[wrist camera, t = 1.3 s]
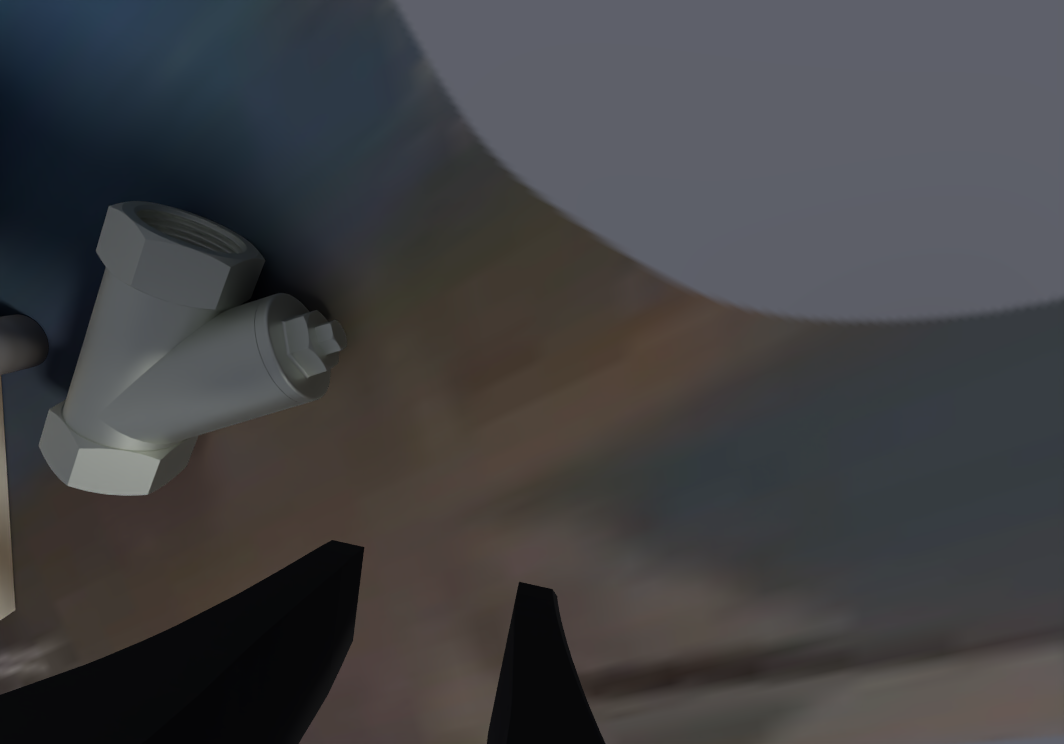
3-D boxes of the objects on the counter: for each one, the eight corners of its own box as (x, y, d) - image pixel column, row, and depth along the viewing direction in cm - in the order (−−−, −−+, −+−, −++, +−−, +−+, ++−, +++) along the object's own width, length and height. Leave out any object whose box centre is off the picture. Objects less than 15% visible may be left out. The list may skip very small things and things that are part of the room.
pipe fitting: (379, 303, 18) (179, 201, 18) (335, 328, 15) (80, 200, 14) (291, 498, 21) (110, 415, 20) (233, 564, 17) (7, 464, 16)
